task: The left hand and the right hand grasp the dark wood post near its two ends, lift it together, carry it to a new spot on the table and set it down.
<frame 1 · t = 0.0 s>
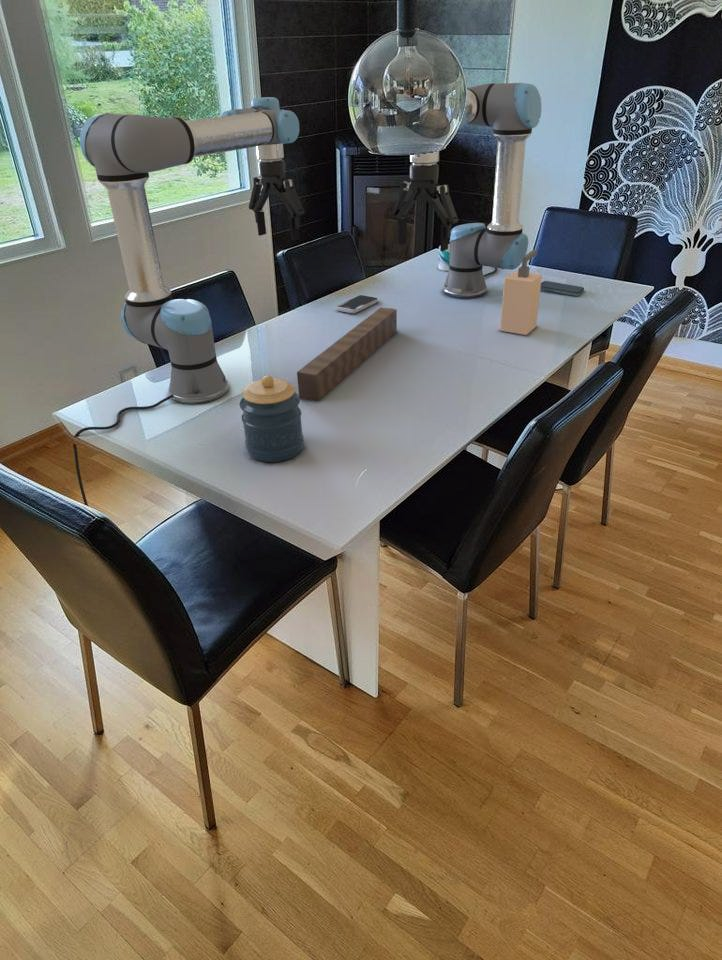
left hand: (278, 237, 202), 28 cm above the table, tool pointing down, fingers open, 13 cm apart
right hand: (423, 247, 186), 28 cm above the table, tool pointing down, fingers open, 13 cm apart
smartphone 2: (560, 291, 238), on the table
canister: (275, 449, 151), on the table
smartphone: (357, 306, 232), on the table
mug: (451, 267, 268), on the table
post: (352, 361, 191), on the table
soap dispenser: (520, 327, 210), on the table
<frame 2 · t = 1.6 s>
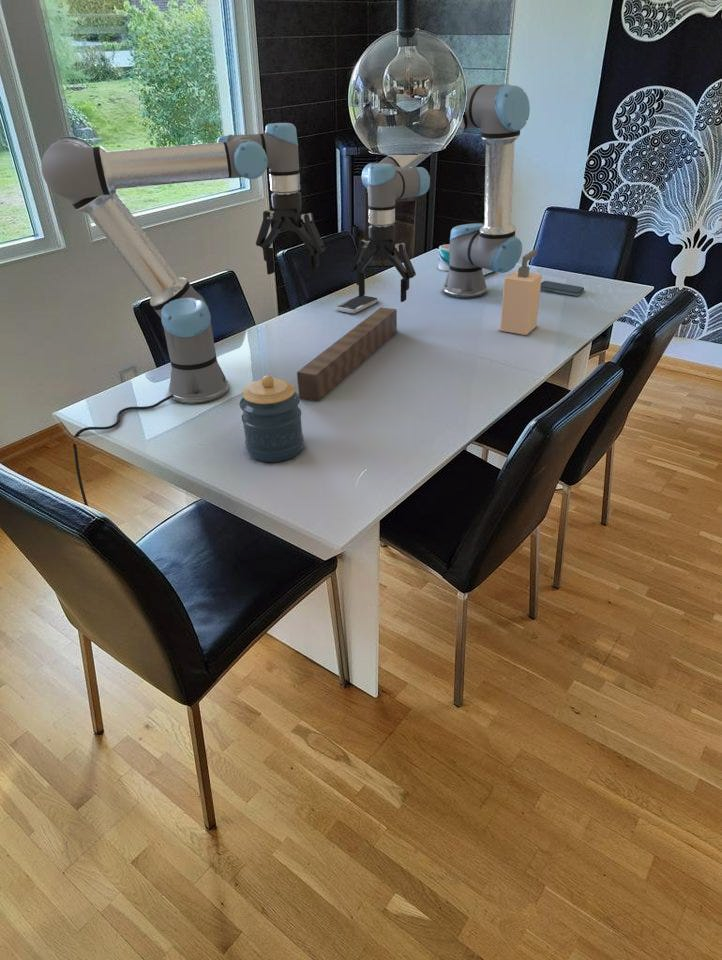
left hand: (292, 276, 182), 24 cm above the table, tool pointing down, fingers open, 13 cm apart
right hand: (382, 298, 201), 12 cm above the table, tool pointing down, fingers open, 13 cm apart
nothing on the table moved.
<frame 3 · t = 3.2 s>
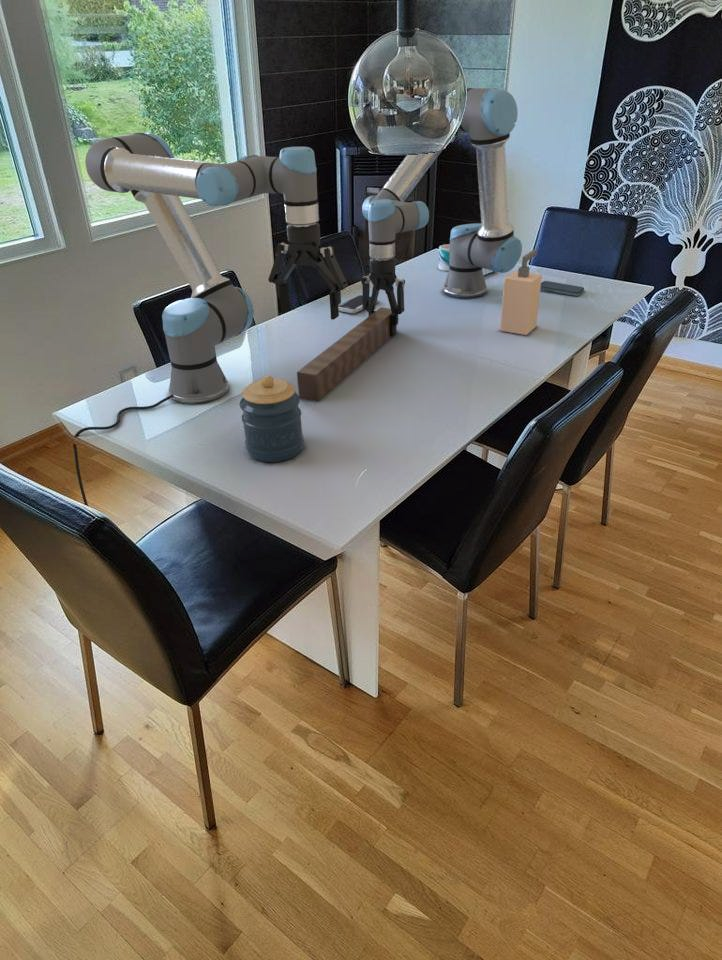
left hand: (310, 314, 163), 21 cm above the table, tool pointing down, fingers open, 13 cm apart
right hand: (383, 333, 208), 1 cm above the table, tool pointing down, fingers closed on post, 5 cm apart
post: (352, 361, 191), on the table, touching right hand
everything else where it was.
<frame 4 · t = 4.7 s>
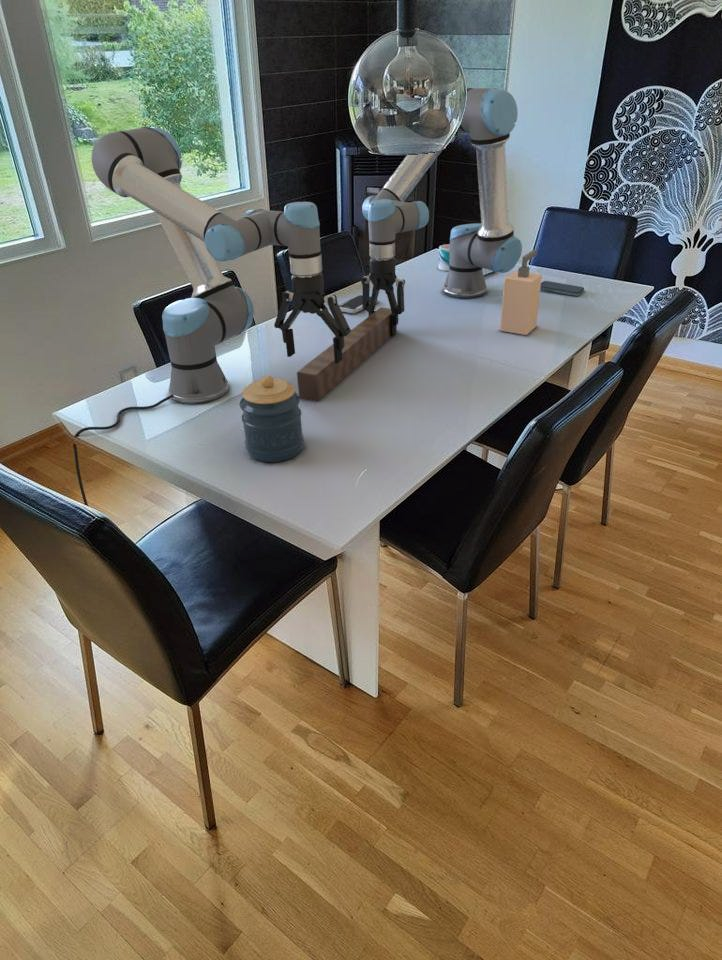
left hand: (314, 358, 169), 10 cm above the table, tool pointing down, fingers open, 13 cm apart
right hand: (383, 333, 208), 1 cm above the table, tool pointing down, fingers closed on post, 5 cm apart
post: (352, 361, 191), on the table, touching right hand
everything else where it was.
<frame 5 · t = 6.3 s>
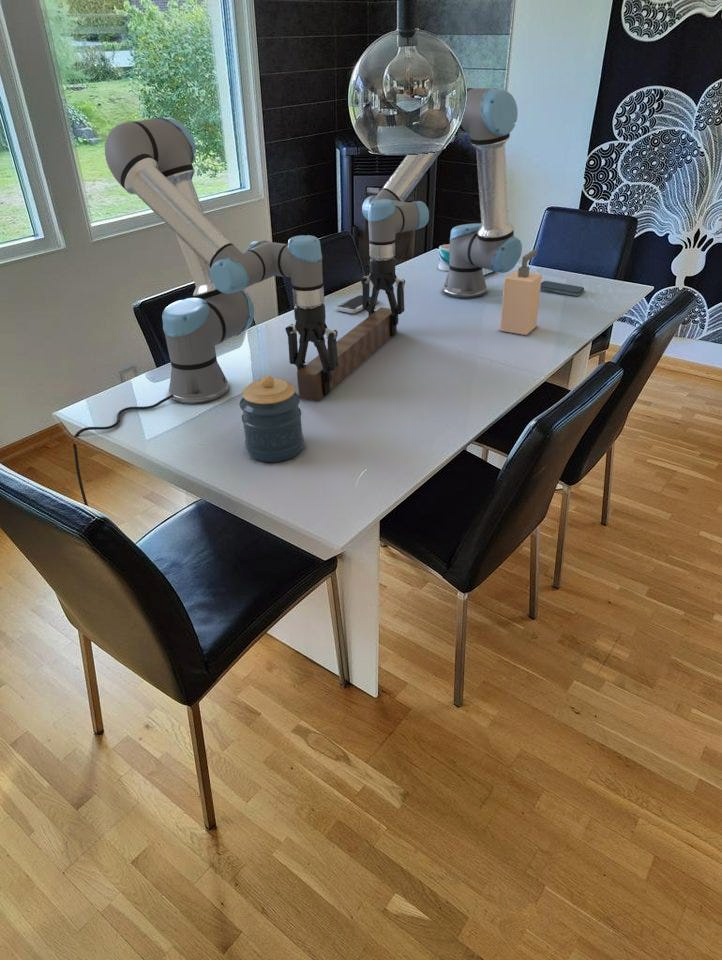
left hand: (316, 391, 174), 1 cm above the table, tool pointing down, fingers closed on post, 5 cm apart
right hand: (383, 333, 208), 1 cm above the table, tool pointing down, fingers closed on post, 5 cm apart
post: (352, 361, 191), on the table, touching left hand, right hand
everything else where it was.
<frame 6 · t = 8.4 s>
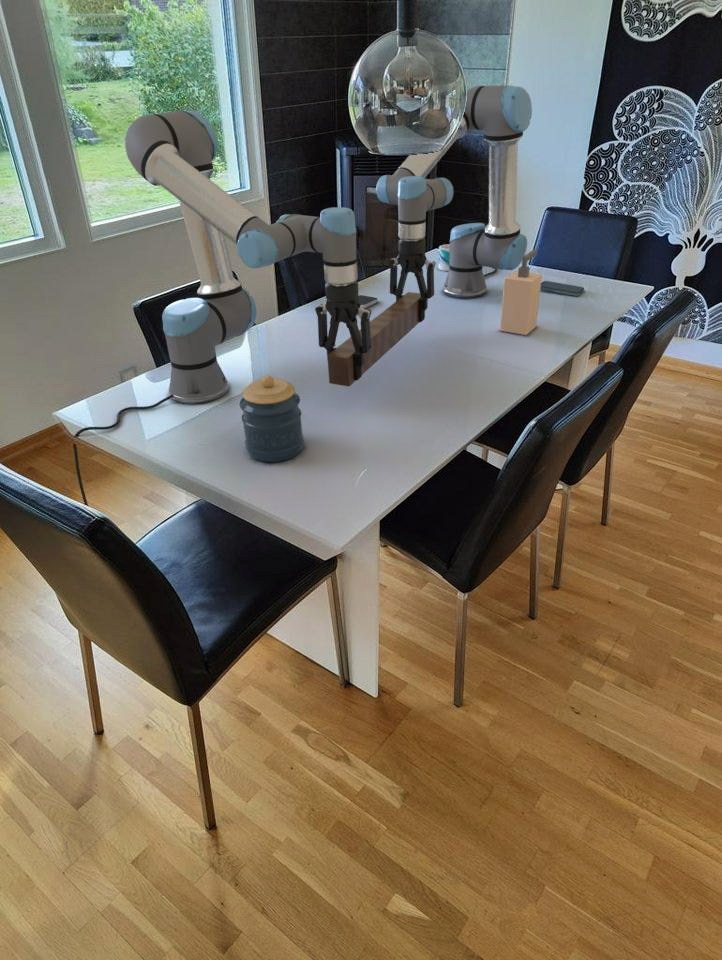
left hand: (346, 376, 164), 8 cm above the table, tool pointing down, fingers closed on post, 5 cm apart
right hand: (411, 319, 198), 7 cm above the table, tool pointing down, fingers closed on post, 5 cm apart
post: (382, 347, 181), point 7 cm above the table, touching left hand, right hand
everything else where it was.
when the left hand's fingers open (2 cm above the table, at t = 10.5 s): post drops 1 cm, on the table.
when the right hand's fingers open (2 cm above the table, at t = 10.5 s): post drops 1 cm, on the table.
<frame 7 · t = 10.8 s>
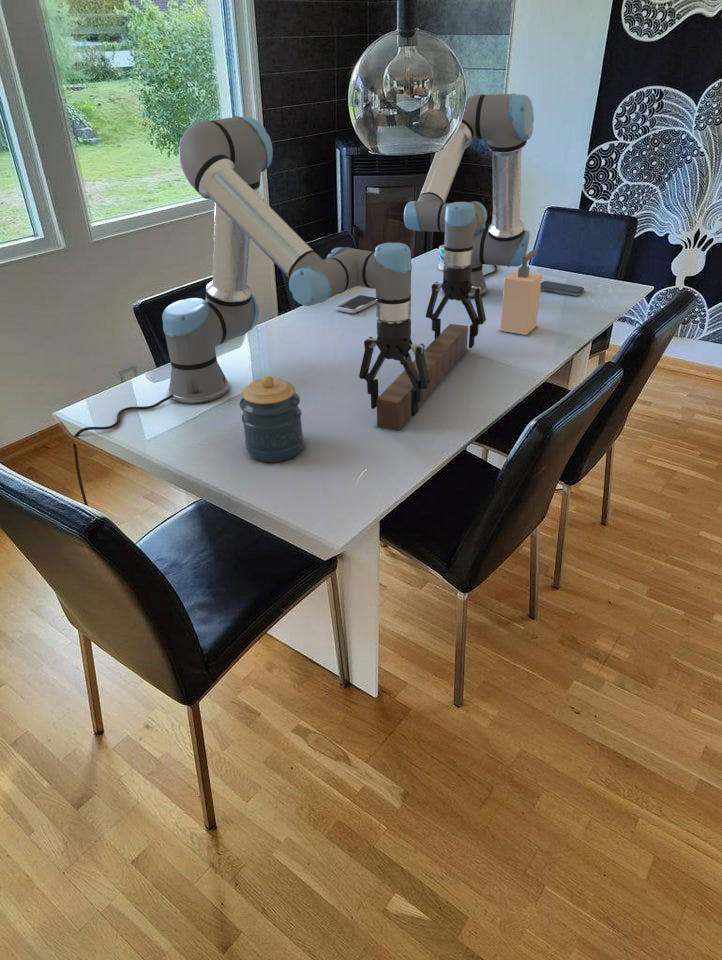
left hand: (394, 409, 158), 3 cm above the table, tool pointing down, fingers open, 9 cm apart
right hand: (454, 344, 192), 3 cm above the table, tool pointing down, fingers open, 9 cm apart
post: (426, 384, 177), on the table
everything else where it was.
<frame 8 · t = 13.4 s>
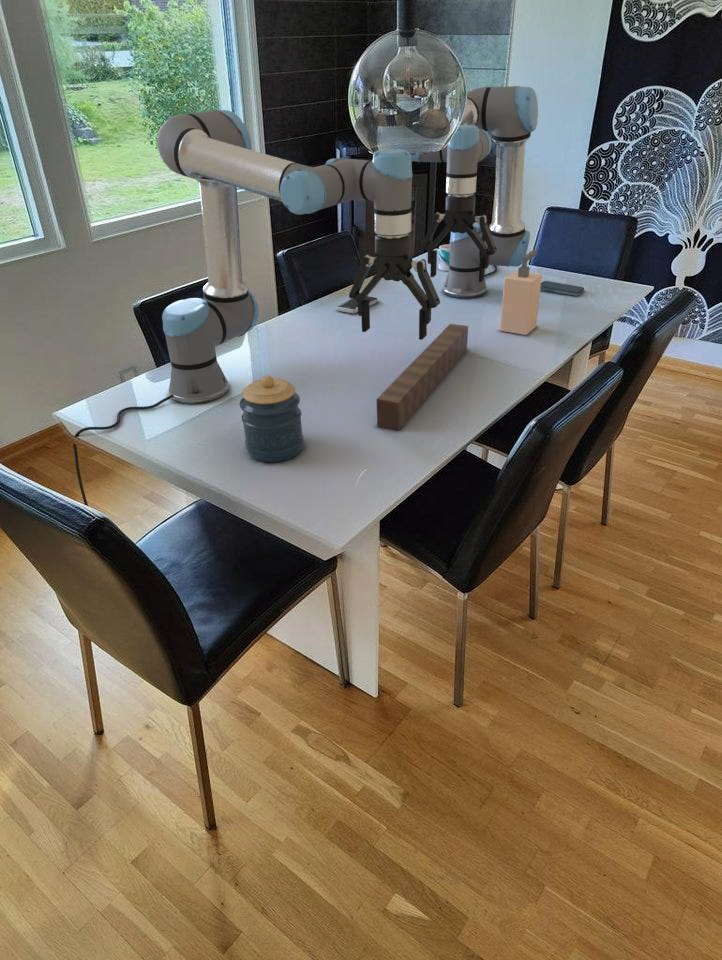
left hand: (393, 333, 148), 22 cm above the table, tool pointing down, fingers open, 13 cm apart
right hand: (457, 278, 182), 22 cm above the table, tool pointing down, fingers open, 13 cm apart
nothing on the table moved.
at the end: post inside the target area (0.1 cm from its centre), on the table; post tilted 0°; post never tilted more than 1° during the clip; both hands held the post at the same time; the left hand is holding nothing; the right hand is holding nothing; post at rest at the end (0.0 cm/s) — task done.
